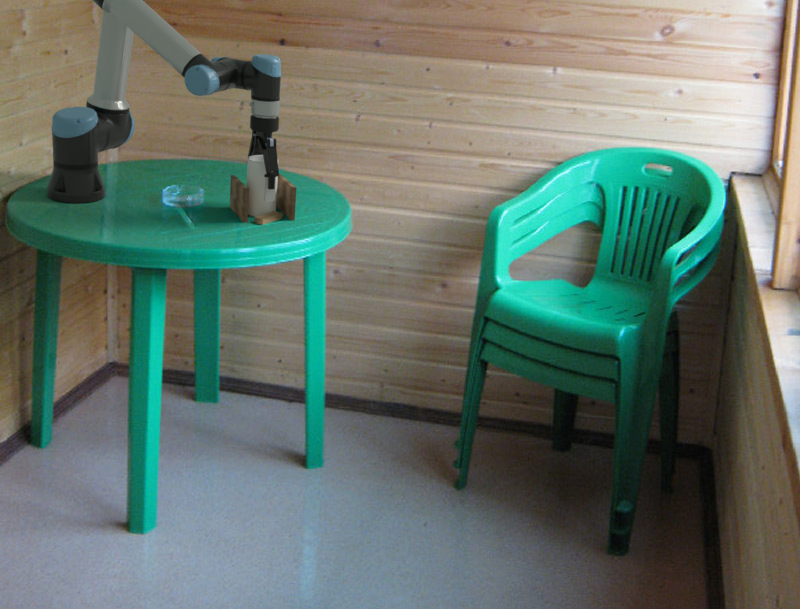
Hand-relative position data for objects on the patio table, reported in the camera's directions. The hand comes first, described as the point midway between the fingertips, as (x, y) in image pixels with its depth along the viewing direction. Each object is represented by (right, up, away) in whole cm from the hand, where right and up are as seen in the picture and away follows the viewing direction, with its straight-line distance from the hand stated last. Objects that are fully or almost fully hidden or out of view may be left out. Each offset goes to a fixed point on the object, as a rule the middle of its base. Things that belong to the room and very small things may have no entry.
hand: (262, 193), depth 285 cm
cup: (-1, -6, +2) cm, 7 cm away
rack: (0, -6, +2) cm, 6 cm away
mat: (-13, -7, -4) cm, 15 cm away
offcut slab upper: (+2, -8, -4) cm, 9 cm away
